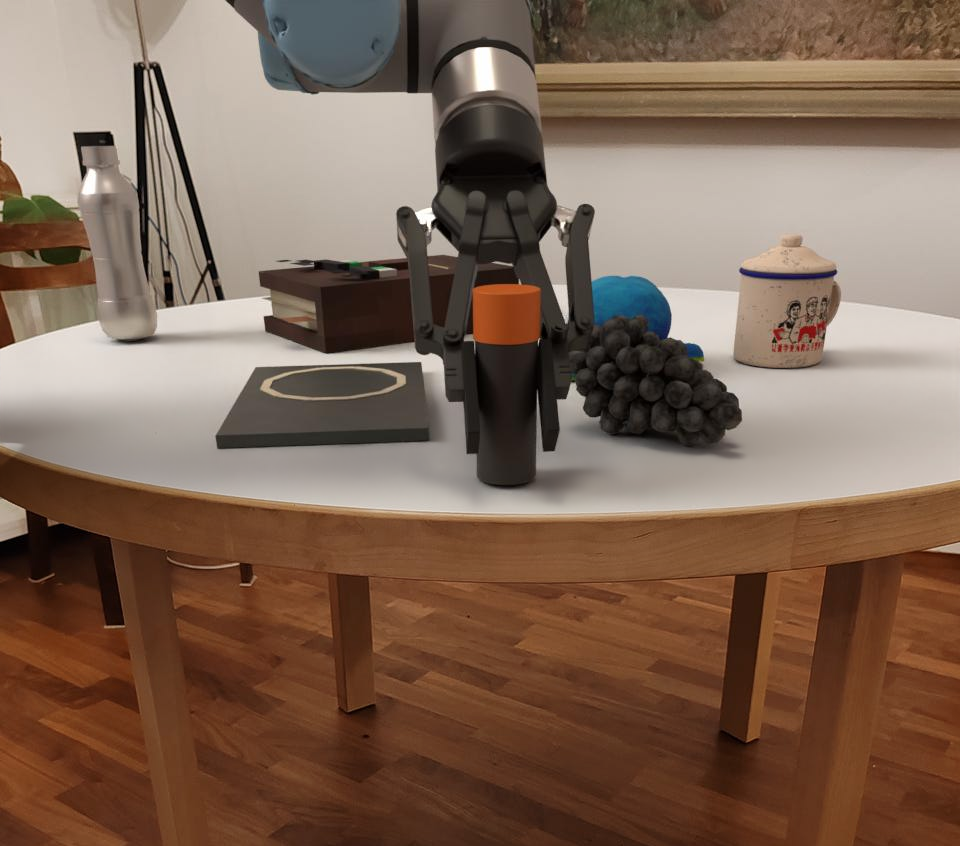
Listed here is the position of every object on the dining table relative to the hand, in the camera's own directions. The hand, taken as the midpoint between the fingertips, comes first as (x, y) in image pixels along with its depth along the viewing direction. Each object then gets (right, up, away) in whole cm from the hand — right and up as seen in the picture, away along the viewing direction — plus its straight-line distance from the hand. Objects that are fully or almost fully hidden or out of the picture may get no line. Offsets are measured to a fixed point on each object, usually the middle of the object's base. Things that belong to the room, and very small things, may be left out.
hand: (512, 441), depth 61 cm
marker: (0, -1, +5) cm, 5 cm away
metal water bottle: (-42, +22, +52) cm, 71 cm away
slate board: (-15, +8, +24) cm, 29 cm away
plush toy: (+11, +15, +36) cm, 41 cm away
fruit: (+11, +3, +14) cm, 18 cm away
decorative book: (-13, +25, +56) cm, 62 cm away
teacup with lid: (+29, +16, +38) cm, 50 cm away
